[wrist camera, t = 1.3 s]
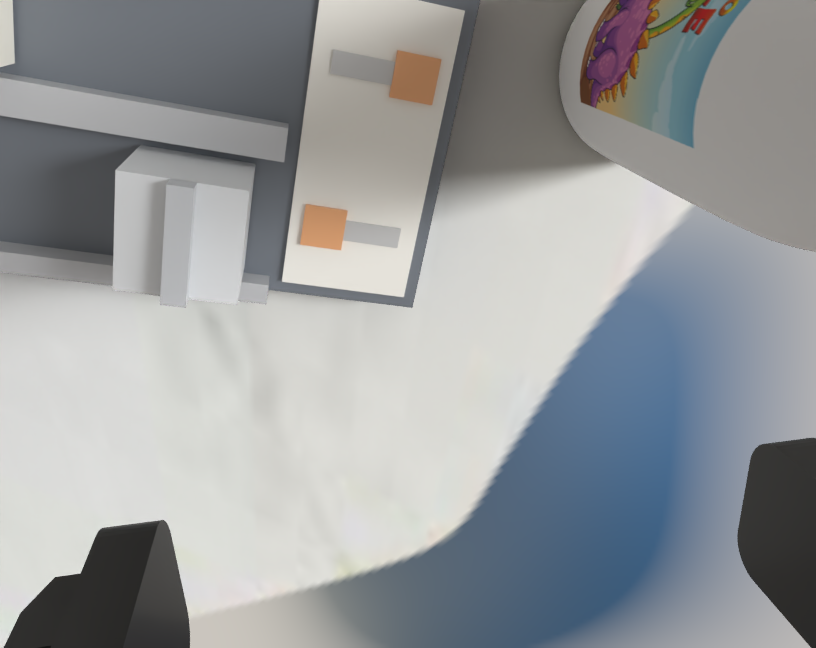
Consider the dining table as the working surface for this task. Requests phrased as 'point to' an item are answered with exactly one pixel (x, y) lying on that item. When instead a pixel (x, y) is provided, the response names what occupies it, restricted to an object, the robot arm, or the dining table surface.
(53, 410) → the dining table surface
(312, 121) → the switch panel
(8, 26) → the cream tab
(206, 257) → the white block with rib
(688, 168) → the milk bottle
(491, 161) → the dining table surface
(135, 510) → the dining table surface
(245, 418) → the dining table surface
